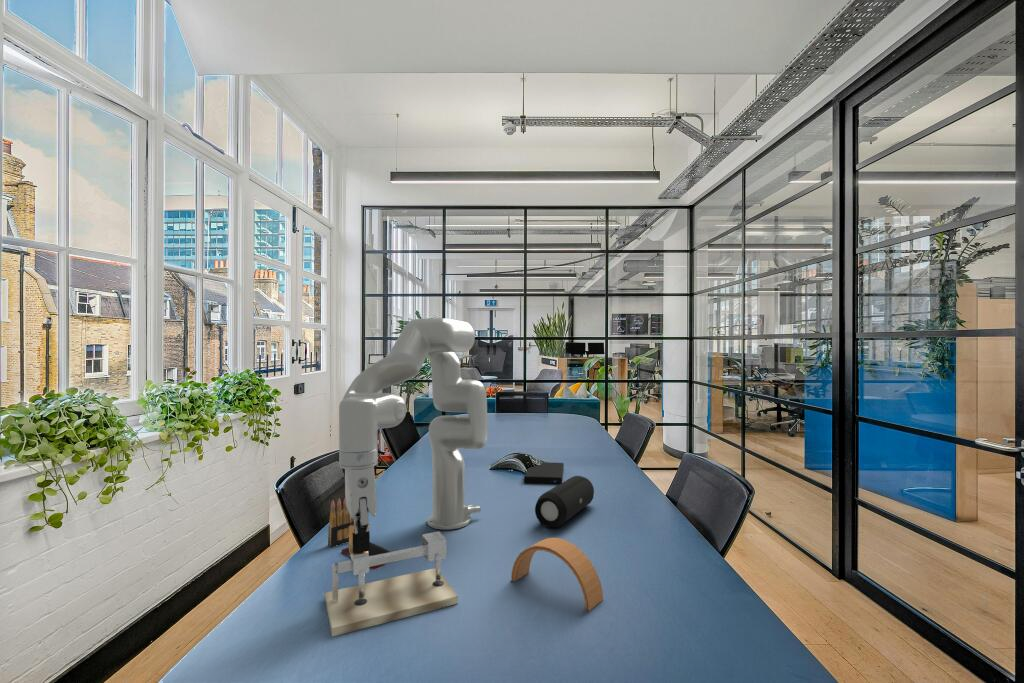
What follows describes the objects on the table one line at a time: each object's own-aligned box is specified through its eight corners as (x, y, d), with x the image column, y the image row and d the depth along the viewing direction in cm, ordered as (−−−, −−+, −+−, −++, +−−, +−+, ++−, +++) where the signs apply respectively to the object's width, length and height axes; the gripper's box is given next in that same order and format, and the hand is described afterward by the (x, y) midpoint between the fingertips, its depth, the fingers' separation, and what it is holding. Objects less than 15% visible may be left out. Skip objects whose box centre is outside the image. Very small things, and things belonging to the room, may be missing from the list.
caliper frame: (439, 571, 107) (439, 531, 107) (448, 582, 102) (447, 540, 102) (331, 595, 97) (330, 551, 97) (334, 610, 92) (334, 563, 92)
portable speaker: (563, 533, 133) (563, 497, 133) (532, 526, 138) (531, 492, 138) (596, 506, 154) (596, 476, 154) (568, 501, 159) (568, 472, 160)
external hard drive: (563, 469, 202) (563, 462, 202) (561, 485, 179) (561, 477, 179) (530, 469, 204) (530, 461, 204) (524, 484, 181) (524, 476, 181)
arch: (527, 571, 111) (526, 528, 111) (603, 600, 98) (602, 551, 98) (511, 580, 106) (510, 535, 106) (588, 612, 93) (588, 561, 93)
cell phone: (372, 571, 112) (372, 567, 112) (340, 553, 121) (340, 550, 121) (400, 559, 118) (400, 555, 118) (366, 544, 127) (366, 540, 127)
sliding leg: (367, 586, 100) (367, 520, 100) (372, 598, 95) (372, 529, 95) (347, 590, 98) (347, 524, 98) (351, 603, 93) (351, 533, 93)
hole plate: (436, 574, 109) (436, 567, 109) (457, 603, 97) (457, 595, 97) (325, 599, 98) (325, 592, 98) (332, 636, 86) (332, 627, 86)
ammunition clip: (331, 547, 124) (330, 501, 124) (327, 545, 126) (327, 500, 126) (368, 535, 132) (368, 492, 132) (365, 534, 133) (365, 491, 133)
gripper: (385, 464, 92) (386, 559, 91) (370, 448, 107) (370, 530, 106) (344, 469, 88) (345, 568, 88) (334, 451, 103) (335, 536, 103)
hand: (359, 546), depth 97 cm, fingers closed on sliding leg, 4 cm apart
